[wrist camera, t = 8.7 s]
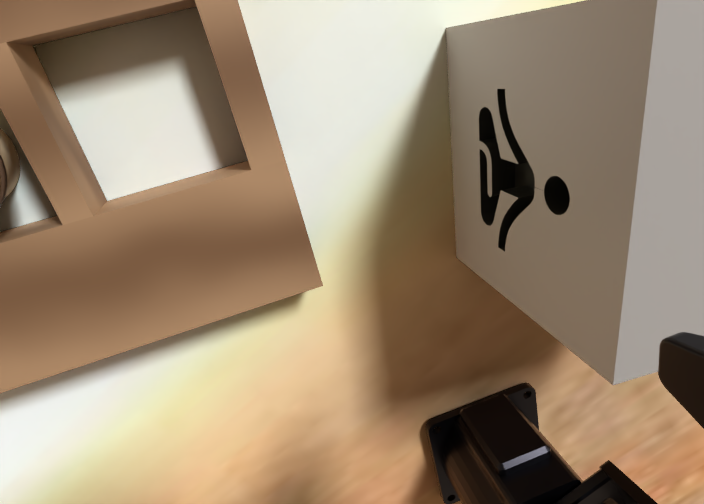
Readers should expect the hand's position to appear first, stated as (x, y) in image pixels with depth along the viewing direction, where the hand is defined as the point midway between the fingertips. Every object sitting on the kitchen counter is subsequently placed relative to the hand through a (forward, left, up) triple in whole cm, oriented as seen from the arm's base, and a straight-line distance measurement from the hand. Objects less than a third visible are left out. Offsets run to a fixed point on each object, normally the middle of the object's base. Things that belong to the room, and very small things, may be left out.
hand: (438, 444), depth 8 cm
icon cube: (+1, -12, -13) cm, 18 cm away
